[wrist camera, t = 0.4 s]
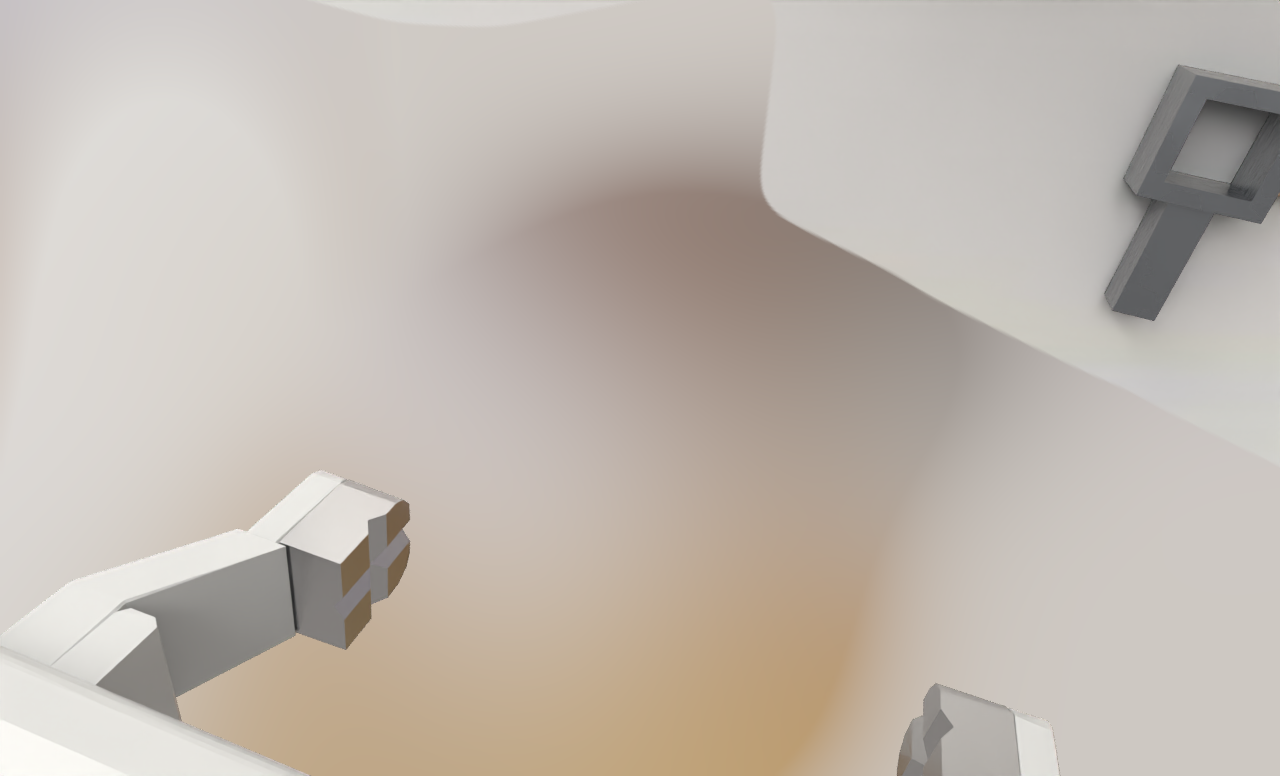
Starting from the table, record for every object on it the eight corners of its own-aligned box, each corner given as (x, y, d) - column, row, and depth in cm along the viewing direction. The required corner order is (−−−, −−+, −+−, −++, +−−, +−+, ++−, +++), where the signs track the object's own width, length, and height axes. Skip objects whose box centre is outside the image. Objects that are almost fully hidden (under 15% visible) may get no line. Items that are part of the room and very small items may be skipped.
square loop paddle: (1178, 64, 44) (1196, 74, 41) (1305, 90, 43) (1333, 102, 40) (1071, 285, 51) (1080, 307, 48) (1178, 312, 50) (1193, 336, 47)
